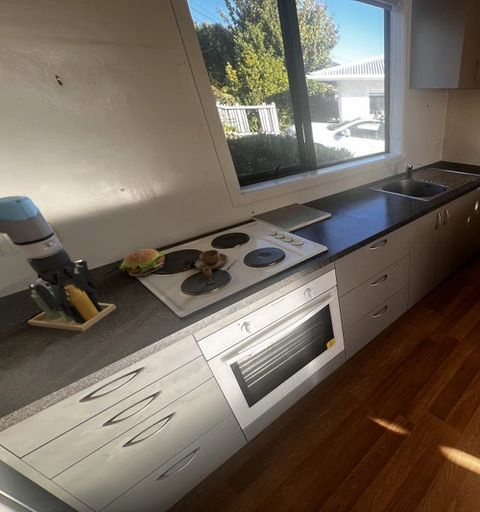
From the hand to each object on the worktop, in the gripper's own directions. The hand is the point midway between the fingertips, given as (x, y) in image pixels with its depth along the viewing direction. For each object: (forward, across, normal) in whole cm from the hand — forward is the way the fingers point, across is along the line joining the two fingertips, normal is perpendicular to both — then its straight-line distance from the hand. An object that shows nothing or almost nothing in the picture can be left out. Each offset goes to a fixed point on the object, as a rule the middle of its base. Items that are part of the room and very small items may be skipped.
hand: (89, 316), depth 91 cm
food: (+1, +28, +7) cm, 29 cm away
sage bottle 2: (+1, 0, +6) cm, 6 cm away
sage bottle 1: (+1, 0, +12) cm, 12 cm away
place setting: (+1, +31, -18) cm, 36 cm away
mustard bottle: (0, 0, 0) cm, 0 cm away
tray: (+1, 0, +6) cm, 6 cm away
